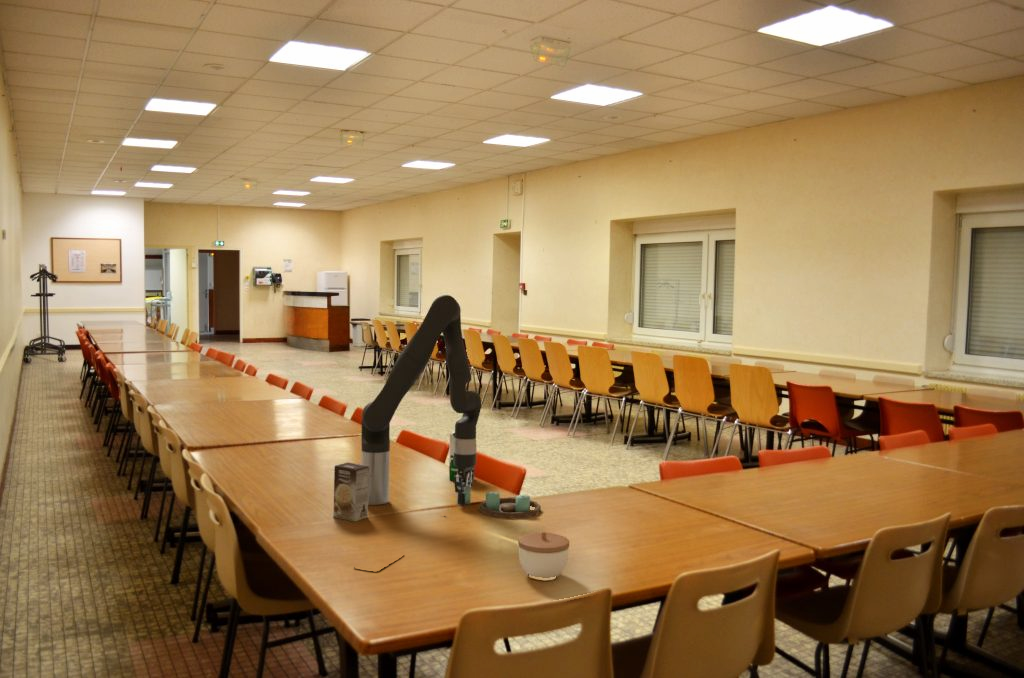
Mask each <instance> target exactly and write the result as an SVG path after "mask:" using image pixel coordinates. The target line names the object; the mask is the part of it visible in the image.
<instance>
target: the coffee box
mask: <svg viewBox="0 0 1024 678" xmlns="http://www.w3.org/2000/svg"><path fill="white" fill-rule="evenodd" d="M333 471H334V473H333V475H334V477H333V482H334V483H333V518H337V519H341V520H346V521H350V522H354V521H355V522H357V521H360V520H364V519H367V518H368V512H369V510H368V509H369V508H368V507H369V505H368V480H369V466H364V465H361V464H359V463H352V462H344V463H340V464H336V465H334V470H333Z"/></svg>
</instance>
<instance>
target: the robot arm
mask: <svg viewBox="0 0 1024 678" xmlns="http://www.w3.org/2000/svg"><path fill="white" fill-rule="evenodd" d="M461 309H462V308H461V306H460V304H459V302H458V301H457V300H456V299H455V298H454V297H453V296H452V295H449V294H441V295H439V296H438V297H436V298H435V299H434V300H433V301H432V302H431V305H430V307H429V309H428V310H427V313H426V314H425V316H424V319H423V321H422V322H421V324H420V326H419V327H418V329H417V330H416V332H415V333H414V334H413V335H412V337H411V338H410V340H409V341H408V342H407V344H406V345H405V347H404V348H403V349H402V351H401V352H400V354H399V356H398V357H397V358H396V361H395V362H394V363H393V366H392V368H391V370H390V371H389V374H388V377H387V379H386V381H385V383H384V385H383V387H382V389H381V390H380V392H379V393H378V394H377V396H376V397H375V399H374V400H373V401H371V402H368V403H367V404H366V405H365V406H364V407H363V408H362V409H363V410H362V411H361V435H360V436H361V440H360V441H361V457H360V458H361V462H360V463H361V464H360V465H364V466H369V480H368V506H379V505H384V504H388V503H389V502H390V500H389V499H390V459H391V458H390V452H391V451H390V450H391V443H390V442H391V441H390V440H391V439H390V427H391V426H390V425H391V424H390V423H391V422H392V421H391V420H392V419H393V417H394V416H395V413H396V411H397V410H398V407H399V406H400V404H401V402H402V400H403V399H404V398H405V396H406V395H407V393H408V392H409V391H410V389H411V388H412V387H413V386H414V384H415V383H416V382H417V380H418V379H419V378H420V376H421V374H422V373H423V371H424V369H425V368H426V366H427V365H428V364H429V361H430V359H431V357H432V354H433V352H434V351H435V347H436V345H437V342H438V340H439V338H440V336H441V335H443V340H444V345H445V346H444V347H445V357H446V364H447V370H448V375H449V379H450V387H449V388H450V389H449V390H450V391H449V401H450V406H451V408H452V410H453V411H454V412H456V414H462V416H461V418H460V419H458V420H456V421H455V425H454V431H455V441H454V460H453V464H454V466H457V467H458V472H457V476H454V481H453V482H454V492H455V493H458V504H459V505H460V506H464V504H465V489H466V487H469V488H471V489H472V487H473V486H474V479H475V471H476V470H475V468H474V467H476V466H477V447H478V446H477V425H478V421H479V418H480V413H481V410H482V398H481V396H480V394H479V393H478V392H477V391H474V390H467V384H469V383H471V381H472V371H471V369H470V368H471V367H470V363H469V359H468V355H467V351H466V348H465V347H466V346H465V343H464V339H463V332H462V324H461V323H462V320H461V317H462V316H461V311H462V310H461ZM471 467H473V469H471ZM465 505H466V504H465Z"/></svg>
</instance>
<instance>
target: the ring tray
mask: <svg viewBox="0 0 1024 678" xmlns="http://www.w3.org/2000/svg"><path fill="white" fill-rule="evenodd" d="M530 506H532V507H535V509H534V510H530V511H526V512H515V511H516V497H500V507H499V511H493V510H490V509H487V508H486V499H485V500H483V501H482V502H481V503H479V508H478V509H479V511H480V512H481V514H483V515H486V516H488V517H492V518H499V519H511V518H516V519H526V518H525V517H527V518H530V517H529V516H532V517H534V516H533V515H535V516H537V515H538V514H539V513H540V512H541V511H540V510H541V508H542V507H541V505H540V504H539V503H538V502H537V501H533V500H530ZM539 511H540V512H539ZM538 512H539V513H538ZM537 513H538V514H537ZM536 514H537V515H536Z"/></svg>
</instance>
